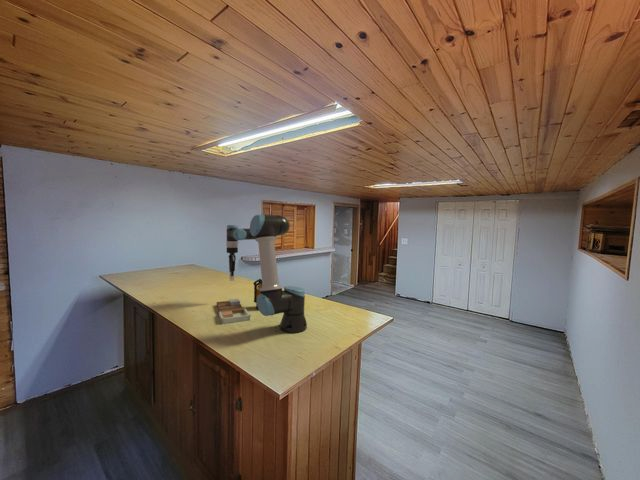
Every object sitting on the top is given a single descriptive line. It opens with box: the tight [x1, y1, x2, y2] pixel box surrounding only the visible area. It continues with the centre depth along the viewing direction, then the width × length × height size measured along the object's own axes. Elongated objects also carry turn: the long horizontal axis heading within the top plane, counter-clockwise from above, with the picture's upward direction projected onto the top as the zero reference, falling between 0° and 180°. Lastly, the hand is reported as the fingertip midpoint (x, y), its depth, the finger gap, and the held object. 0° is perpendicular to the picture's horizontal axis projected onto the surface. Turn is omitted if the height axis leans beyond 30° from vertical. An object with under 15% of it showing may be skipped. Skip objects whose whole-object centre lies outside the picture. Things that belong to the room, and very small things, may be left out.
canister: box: [253, 278, 263, 310], centre depth 182 cm, size 9×11×20 cm
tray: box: [218, 308, 251, 325], centre depth 162 cm, size 13×16×3 cm
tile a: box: [221, 311, 233, 318], centre depth 163 cm, size 6×6×2 cm
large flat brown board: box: [216, 300, 245, 314], centre depth 178 cm, size 22×14×2 cm, turn 27°
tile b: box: [228, 298, 241, 306], centre depth 181 cm, size 6×6×2 cm
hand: (231, 280), depth 188 cm, fingers closed
